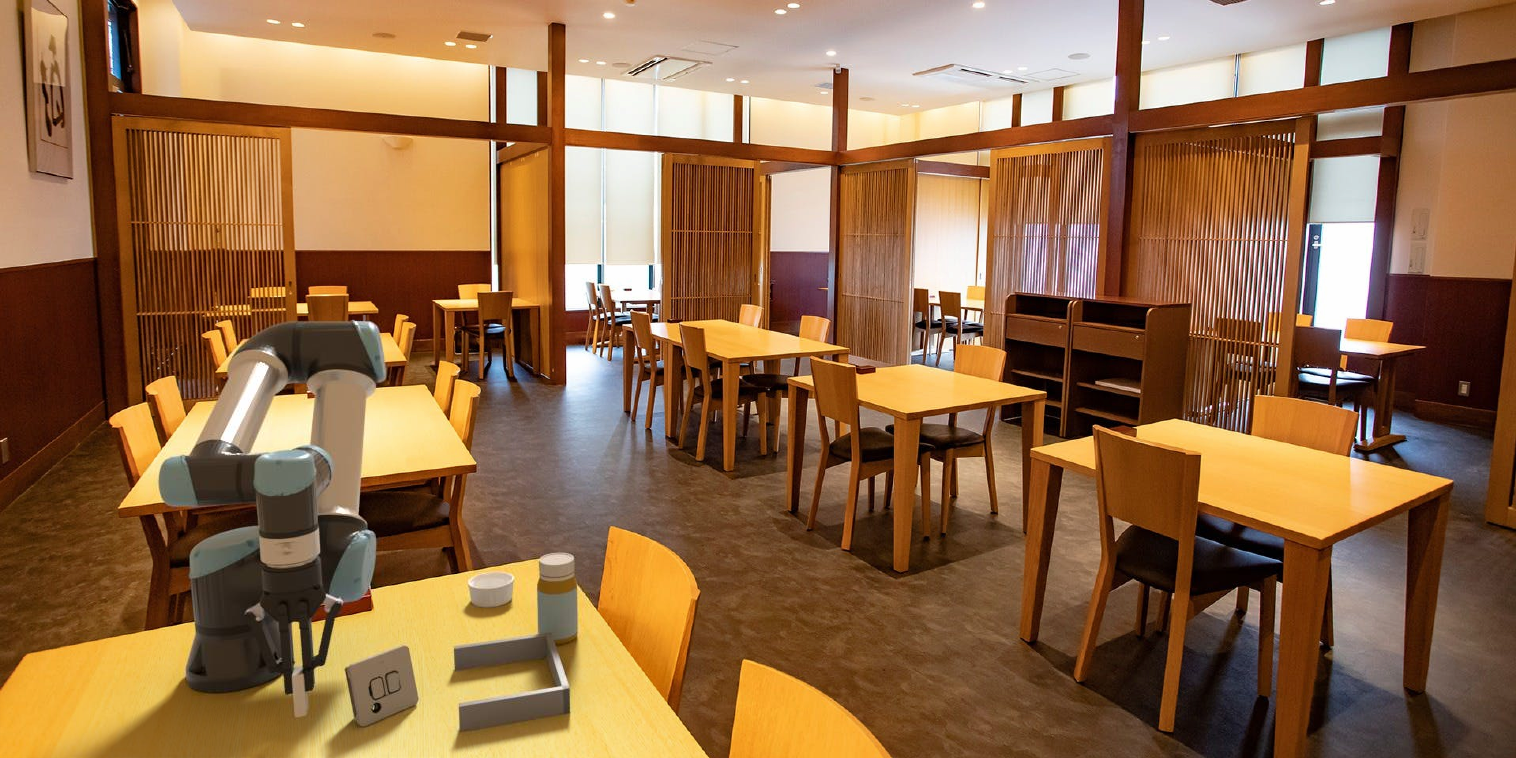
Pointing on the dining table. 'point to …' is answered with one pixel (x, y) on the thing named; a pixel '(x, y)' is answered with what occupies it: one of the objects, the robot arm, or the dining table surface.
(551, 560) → the bottle
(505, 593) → the ramekin
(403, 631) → the dining table surface
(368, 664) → the electrical switch
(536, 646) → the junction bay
